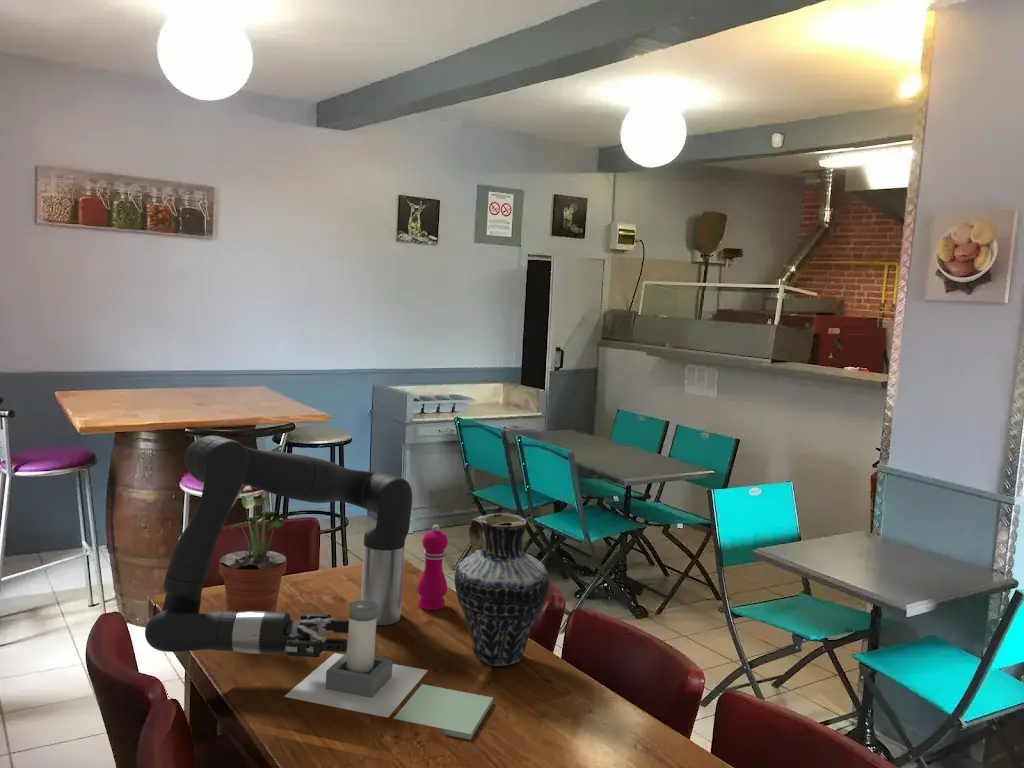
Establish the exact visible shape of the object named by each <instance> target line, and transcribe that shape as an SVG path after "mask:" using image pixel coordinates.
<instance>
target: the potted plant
mask: <svg viewBox="0 0 1024 768" xmlns="http://www.w3.org/2000/svg"><path fill="white" fill-rule="evenodd" d="M252 489H253V488H252V486H249V485H245V487H244V488H243V489H241V488H240V490H239V492H238V494H237V497H236V499H235V501H234V503H233V505H232V508H233V507H234V506H235V504H236V502H237V500H238V499H239V497H240V495H241V494H242V495H241V504H242V505H241V506H242V507H243V508H245V510H246V511H245V512H246V515H247V517H246V519H247V521H245V522H239V523H234V524H232V525H231V528H230V532H232V531H233V530H234V529H235V527H237V526H239V525H240V526H241V529H242V532H243V533H244V537H245V540H246V543H247V546H248V547H247V548H248V550H241V551H240V550H239V551H234V552H230V553H227V554H225V555H223V556H222V557H221V558H219V565H218V566H219V568H218V569H219V570H218V571H219V576H221V577H222V578H223V580H224V582H223V583H224V590H225V591H224V592H225V602H226V609H227V610H226V611H233V612H245V611H267V612H277V606H278V600H279V593H280V588H281V583H282V576H284V575H285V573H286V572H287V562H288V561H287V557H286V556H285V555H284V554H282V553H280V552H276V551H273V550H272V551H271V550H268V549H269V548H270V547H271V543H272V538H273V534H274V531H275V529H276V530H277V531H279V530H280V529H281V528H283V527H284V526H285V522H284V521H283V520H282V519H280V518H278V517H274V516H275V515H276V513H277V511H276V510H270V511H266V502H265V501H266V500H267V499H268V498H269V496H267V493H268V492H267V491H263V492H262V493H261V494H257V493H255V492H254V491H252ZM246 491H251V494H252V495H253V497H258V496H260V495H261V496H262V495H265V496H264V498H251V497H247V496H245V495H243V494H244V493H245V492H246ZM243 492H244V493H243ZM266 496H267V497H266ZM263 502H264V505H263ZM261 505H263V511H260V512H259V511H258V512H257V511H256V507H257V506H261ZM251 508H254V516H251V517H250V516H249V515H248V514H249V513H248V509H251ZM257 514H258V515H257ZM260 517H261V518H260ZM266 521H267V524H266ZM261 522H262V525H261V536H260V535H259V526H258V523H261ZM245 523H248V529H249V534H250V540H251V544H250V542H249V539H248V536H247V534H246V533H245V530H244V527H243V525H242V524H245ZM265 524H266V525H265ZM265 527H266V529H265ZM266 530H267V531H271V530H272V532H271V535H270V538H269V541H268V543H267V545H266V534H265V533H266ZM259 536H260V537H261V538H260V537H259ZM251 545H252V549H251Z"/></svg>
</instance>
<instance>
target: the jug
mask: <svg viewBox="0 0 1024 768" xmlns="http://www.w3.org/2000/svg"><path fill="white" fill-rule="evenodd" d="M526 527H527V519H526V518H525V517H524V516H521V515H518V514H513V513H511V512H496V513H491V514H490V513H489V514H485V515H480V516H477V517H475V518H471V522H470V524H469V527H468V536H469V540H470V541H469V542H470V546H471V554H470V555H468V556H466V557H464V559H462V560H461V561H460V562H459V564H458V565H457V567H456V570H455V573H454V587H455V593H456V597H457V601H458V604H459V606H460V608H461V610H462V612H463V613H462V614H463V616H464V620H465V623H466V626H467V628H468V629H467V630H468V633H469V636H470V639H471V643H472V652H473V657H475V658H476V659H477V660H479V661H481V662H483V663H487V665H488V666H494V667H501V666H509V665H513V664H516V663H519V662H520V661H521V660H522V658H523V655H524V654H525V650H526V646H527V644H528V643H527V642H528V639H529V636H530V634H531V632H532V629H533V628H534V625H535V623H536V621H537V618H538V617H539V615H540V613H541V611H542V609H543V607H544V604H545V601H546V598H547V596H548V592H549V589H550V575H549V571H548V570H547V568H546V566H545V565H544V564H543V563H542V562H541V561H540V560H539V559H537V558H535V557H534V556H533V555H530V554H528V553H527V552H525V549H524V545H523V539H524V538H523V537H524V535H525V530H526ZM483 534H484V536H483Z"/></svg>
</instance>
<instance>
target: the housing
mask: <svg viewBox="0 0 1024 768" xmlns="http://www.w3.org/2000/svg"><path fill="white" fill-rule="evenodd" d="M393 660H394V659H393V658H388V657H383V656H377V655H374V670H373V671H372V672H371V673H370V674H369V675H368V674H363V673H358V672H353V671H347V670H346V669H347V652H345V654H343V653H337V652H334V653H333V654H332V655H331V656H330V657H328V658H327V659H326V660H324V662H323V663H321V664H320V665H318V667H317V668H315V669H314V670H313V671H312V672H311V673H310V674H309V675H307V676H306V677H305V678H304V679H302V681H300V682H299V683H298V684H297V685H295V686H294V687H293V688H292V689H290V691H289V692H287V694H285V695H284V696H283V697H284V698H287V699H288V698H289V699H292V700H293V699H294V700H299V701H303V702H304V701H305V702H308V703H314V704H319V705H323V706H328V707H333V708H337V709H342V710H343V709H344V710H348V711H353V712H359V713H362V714H369V715H372V716H379V717H385V718H390V716H391V715H392V713H394V712H395V710H396V709H398V707H399V706H400V704H401V703H402V702H403V701H404V699H405V698H406V697H407V696H408V695H409V694H410V692H411V691H412V690H413V689H414V688H415V687H416V685H418V683H419V682H420V681H421V679H422V678H423V677H424V676H425V675H426V673H428V671H429V670H428V669H423V668H417V667H413V666H409V665H408V666H407V665H401V664H397V663H393Z"/></svg>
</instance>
